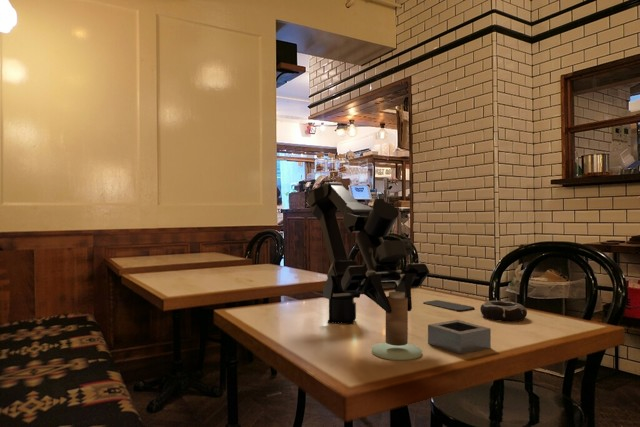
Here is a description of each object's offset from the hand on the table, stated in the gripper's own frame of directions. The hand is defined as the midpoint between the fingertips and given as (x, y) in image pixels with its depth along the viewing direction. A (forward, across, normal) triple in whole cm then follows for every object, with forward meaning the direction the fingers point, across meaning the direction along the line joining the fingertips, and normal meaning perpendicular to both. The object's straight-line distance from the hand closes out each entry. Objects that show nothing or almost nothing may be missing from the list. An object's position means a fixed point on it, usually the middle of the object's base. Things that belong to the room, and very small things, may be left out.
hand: (400, 311), depth 86 cm
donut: (-6, +43, +19) cm, 48 cm away
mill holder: (+6, +15, +7) cm, 17 cm away
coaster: (+5, 0, +7) cm, 9 cm away
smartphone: (-19, +38, +32) cm, 53 cm away
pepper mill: (+4, 0, +6) cm, 7 cm away
